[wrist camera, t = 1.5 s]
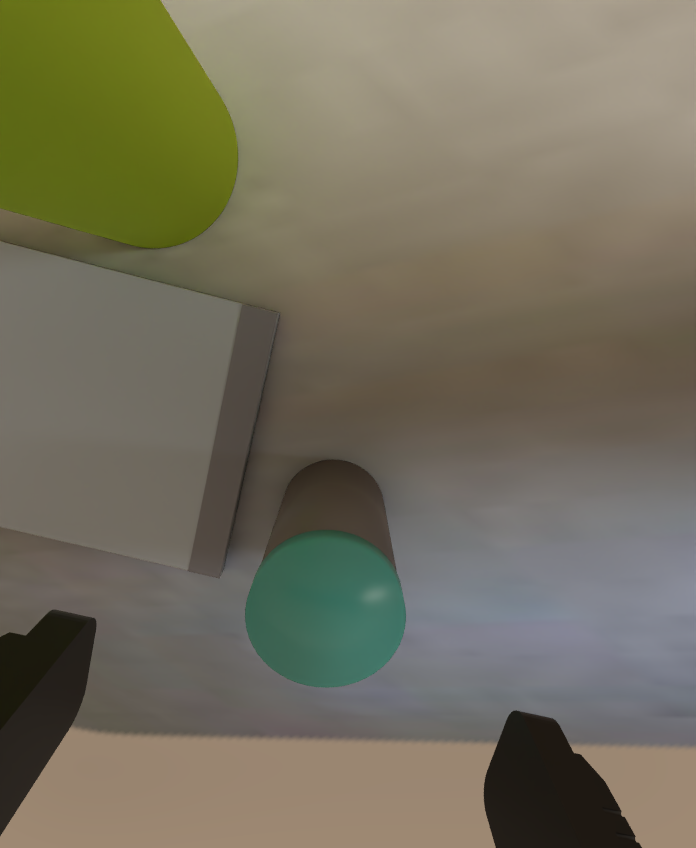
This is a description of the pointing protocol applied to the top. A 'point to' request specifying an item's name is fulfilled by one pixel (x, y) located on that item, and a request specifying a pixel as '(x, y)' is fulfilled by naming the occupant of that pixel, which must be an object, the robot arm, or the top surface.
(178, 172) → the soap dispenser
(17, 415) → the notepad
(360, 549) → the marker
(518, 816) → the robot arm
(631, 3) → the top surface
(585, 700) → the top surface
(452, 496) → the top surface
